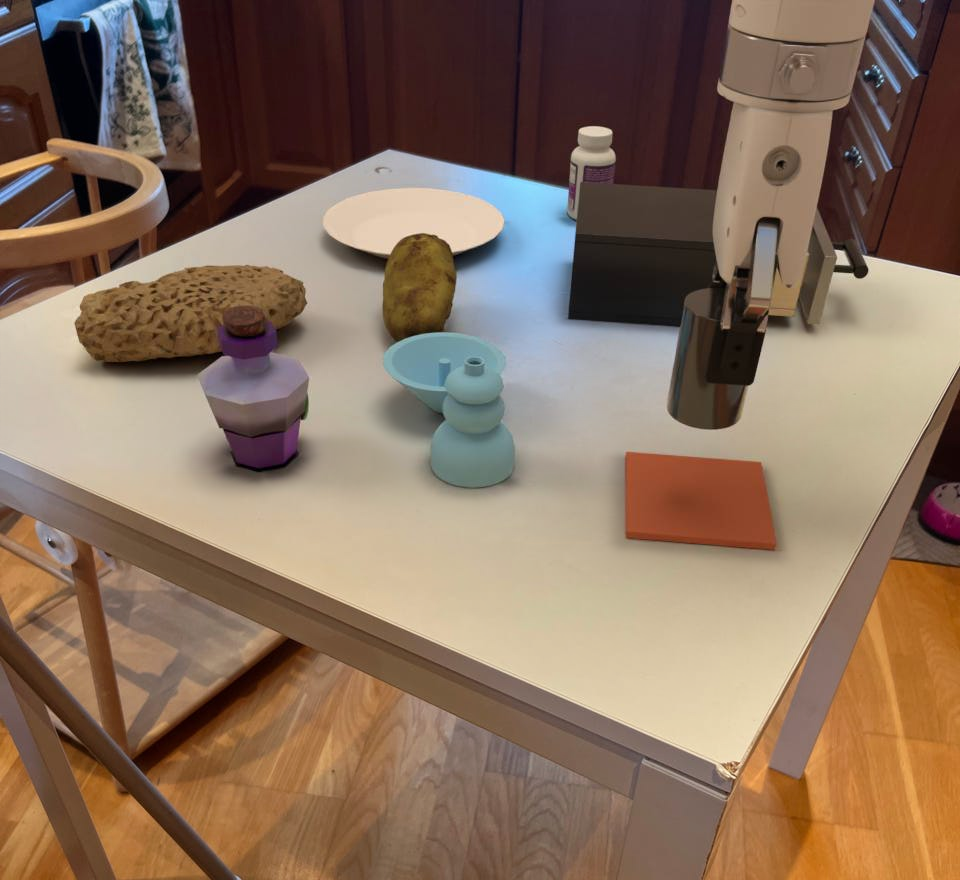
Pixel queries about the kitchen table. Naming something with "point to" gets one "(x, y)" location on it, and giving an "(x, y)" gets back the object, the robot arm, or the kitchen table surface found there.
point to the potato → (418, 286)
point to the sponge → (181, 311)
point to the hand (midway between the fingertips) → (725, 358)
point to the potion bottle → (256, 391)
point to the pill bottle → (590, 163)
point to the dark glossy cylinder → (702, 367)
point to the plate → (412, 219)
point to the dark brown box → (640, 252)
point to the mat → (697, 501)
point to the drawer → (816, 275)
